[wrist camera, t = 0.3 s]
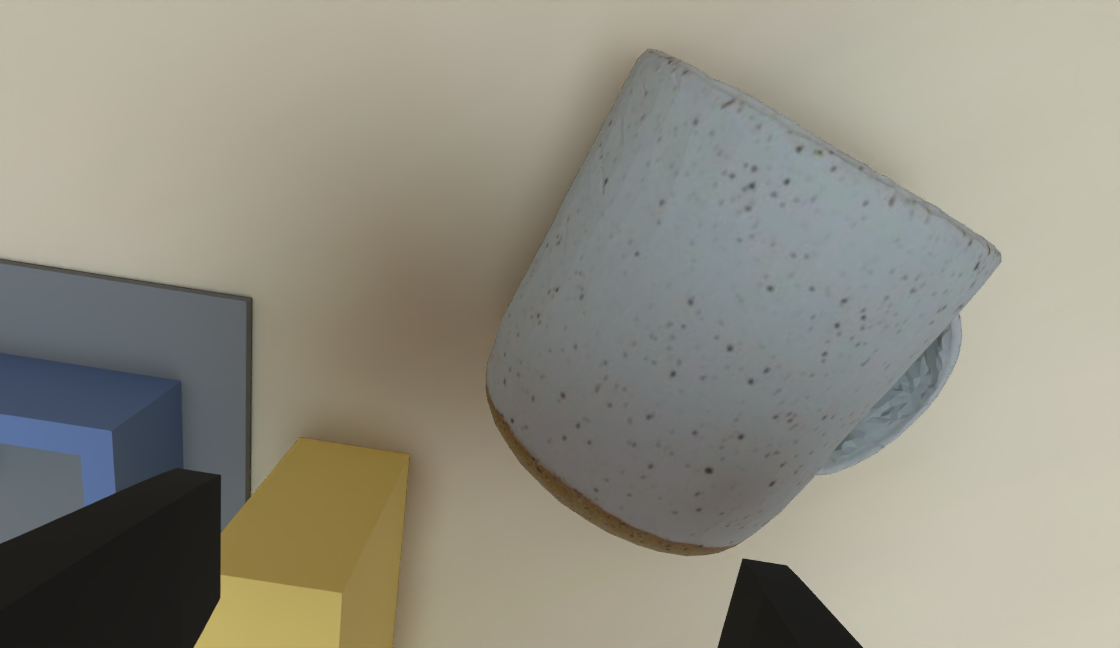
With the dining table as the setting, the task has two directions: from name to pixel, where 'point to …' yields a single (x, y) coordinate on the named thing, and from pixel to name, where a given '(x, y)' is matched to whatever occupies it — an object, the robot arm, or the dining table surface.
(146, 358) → the mat
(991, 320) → the dining table surface
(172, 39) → the dining table surface
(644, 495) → the ceramic mug
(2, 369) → the end cap
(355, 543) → the slat
